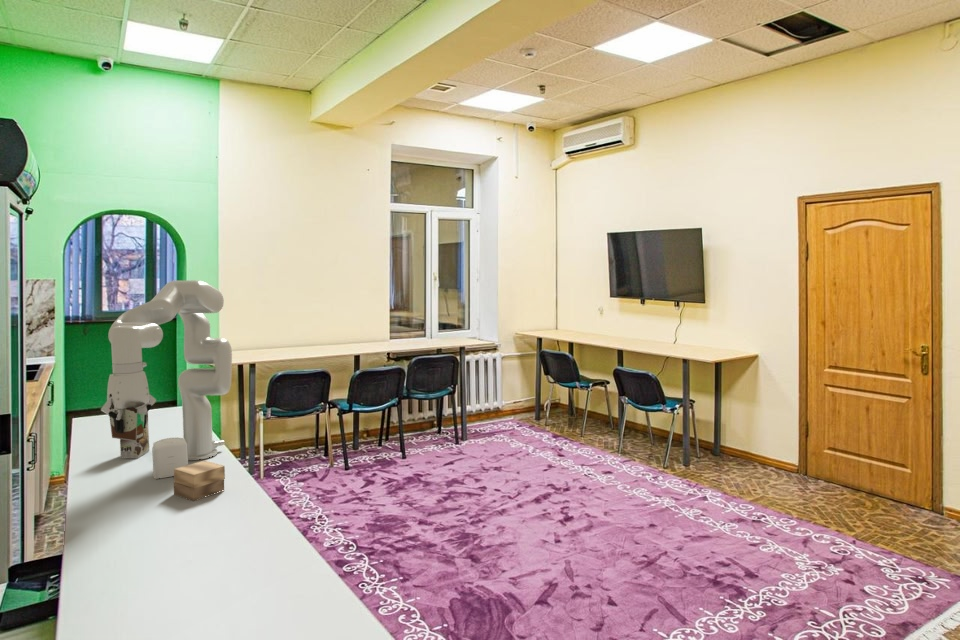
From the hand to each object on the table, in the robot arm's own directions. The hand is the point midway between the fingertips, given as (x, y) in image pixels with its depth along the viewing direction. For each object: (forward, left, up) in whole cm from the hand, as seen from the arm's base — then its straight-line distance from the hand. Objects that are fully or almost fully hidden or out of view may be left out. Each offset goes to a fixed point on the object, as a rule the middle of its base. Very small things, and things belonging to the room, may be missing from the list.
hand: (130, 429), depth 181 cm
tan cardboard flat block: (-13, +12, -21) cm, 27 cm away
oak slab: (-14, +12, -17) cm, 25 cm away
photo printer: (-18, -11, -21) cm, 29 cm away
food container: (-1, 0, -3) cm, 3 cm away
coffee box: (-24, -44, -21) cm, 54 cm away
